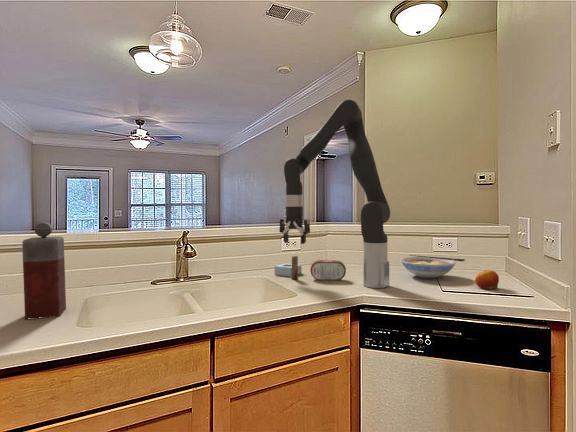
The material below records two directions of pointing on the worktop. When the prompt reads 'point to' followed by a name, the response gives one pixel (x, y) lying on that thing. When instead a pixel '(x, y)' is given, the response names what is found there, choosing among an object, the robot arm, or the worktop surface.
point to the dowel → (294, 267)
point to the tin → (328, 270)
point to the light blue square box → (285, 269)
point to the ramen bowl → (429, 265)
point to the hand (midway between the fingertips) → (294, 243)
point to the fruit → (487, 279)
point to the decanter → (44, 274)
